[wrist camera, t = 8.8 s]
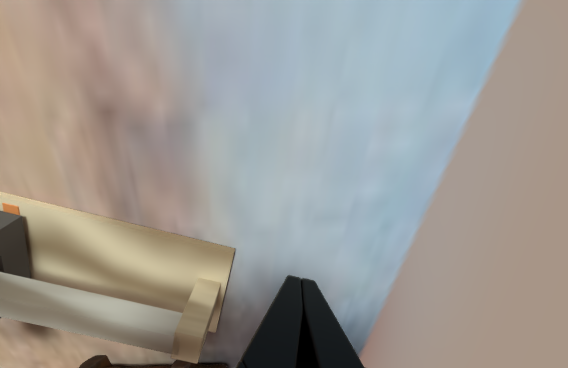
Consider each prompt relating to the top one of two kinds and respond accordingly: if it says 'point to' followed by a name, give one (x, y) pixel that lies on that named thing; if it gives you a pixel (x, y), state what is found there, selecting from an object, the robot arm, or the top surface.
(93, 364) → the bolt
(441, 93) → the top surface
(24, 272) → the grey square collar
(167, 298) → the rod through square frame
